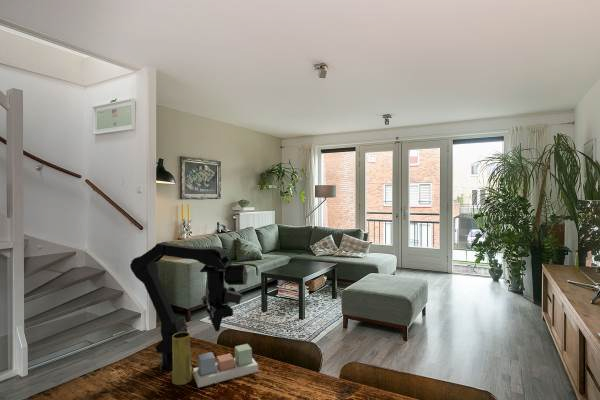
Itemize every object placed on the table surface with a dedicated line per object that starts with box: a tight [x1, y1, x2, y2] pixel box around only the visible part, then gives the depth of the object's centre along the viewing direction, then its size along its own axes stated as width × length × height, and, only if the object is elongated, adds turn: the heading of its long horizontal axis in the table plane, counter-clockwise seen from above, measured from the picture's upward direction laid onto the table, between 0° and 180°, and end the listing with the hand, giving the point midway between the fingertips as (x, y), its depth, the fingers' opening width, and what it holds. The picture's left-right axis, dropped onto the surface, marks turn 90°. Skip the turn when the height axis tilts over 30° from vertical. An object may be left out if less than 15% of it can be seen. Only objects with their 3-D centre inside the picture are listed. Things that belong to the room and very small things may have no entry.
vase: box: [171, 331, 194, 386], centre depth 109 cm, size 6×6×14 cm
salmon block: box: [216, 353, 235, 372], centre depth 112 cm, size 4×4×5 cm
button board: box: [192, 357, 259, 388], centre depth 113 cm, size 8×19×2 cm, turn 117°
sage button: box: [234, 343, 253, 367], centre depth 115 cm, size 4×4×5 cm
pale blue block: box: [197, 351, 216, 377], centre depth 110 cm, size 4×4×5 cm
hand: (217, 331), depth 117 cm, fingers closed
